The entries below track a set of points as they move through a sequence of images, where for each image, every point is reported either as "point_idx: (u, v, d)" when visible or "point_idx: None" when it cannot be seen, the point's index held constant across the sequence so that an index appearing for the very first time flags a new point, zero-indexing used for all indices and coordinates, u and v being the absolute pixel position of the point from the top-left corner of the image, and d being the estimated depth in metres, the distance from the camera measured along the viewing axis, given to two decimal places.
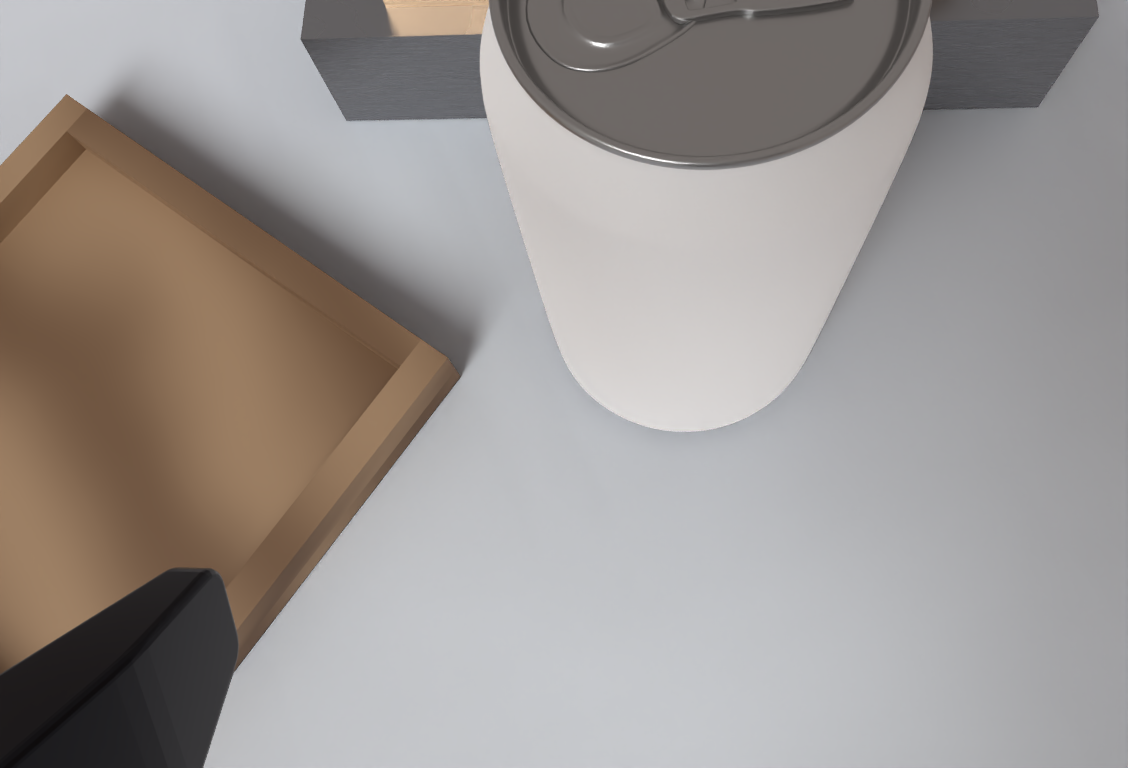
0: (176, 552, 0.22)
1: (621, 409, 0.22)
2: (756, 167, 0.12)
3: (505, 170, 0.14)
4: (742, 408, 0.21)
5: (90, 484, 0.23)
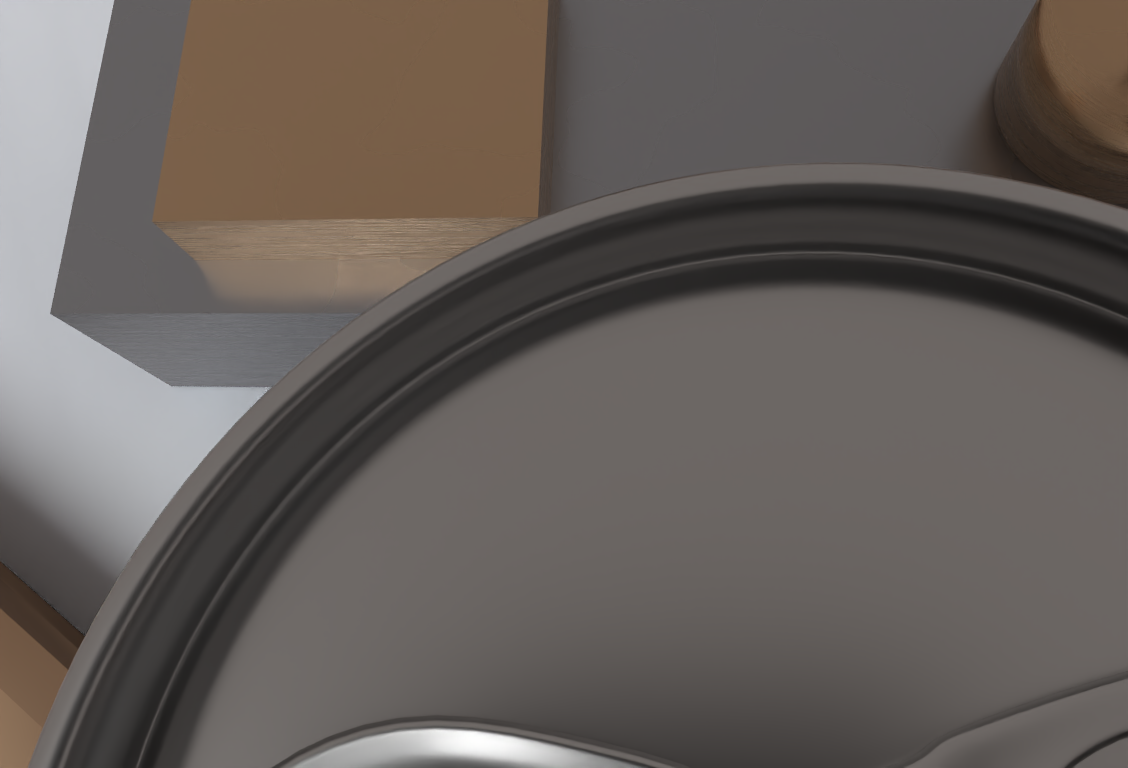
0: None
1: None
2: None
3: None
4: None
5: None
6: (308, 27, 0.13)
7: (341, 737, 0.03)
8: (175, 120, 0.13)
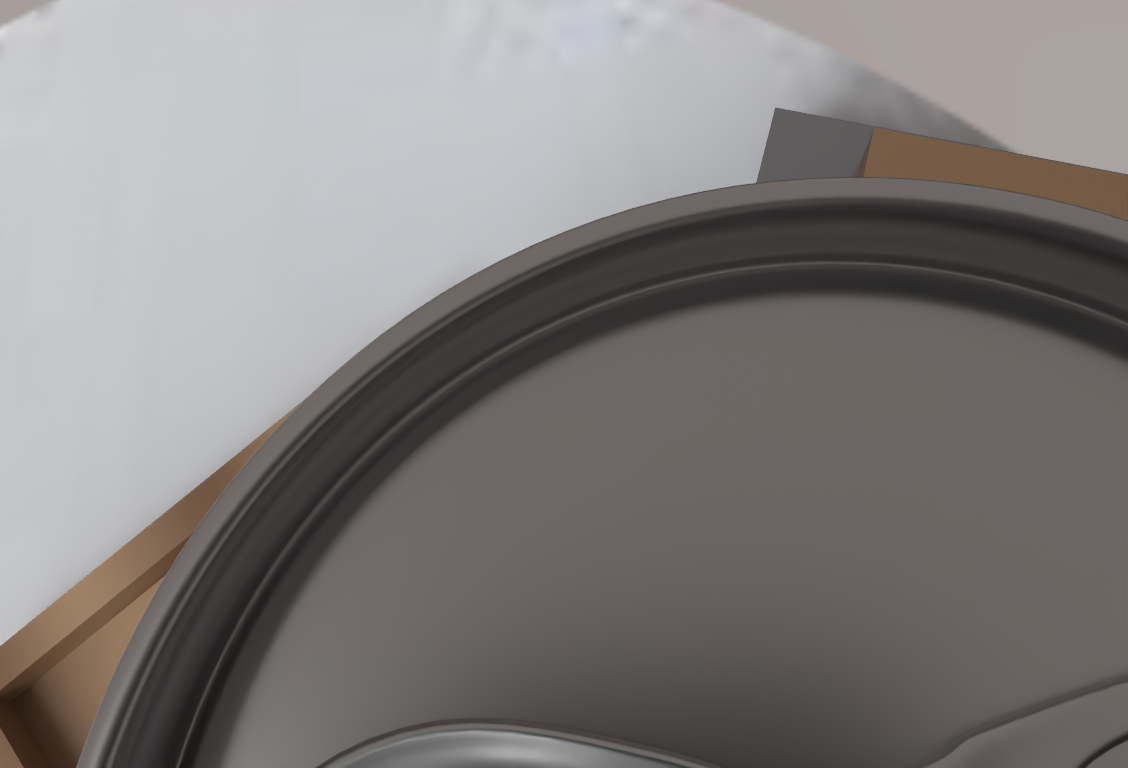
0: None
1: None
2: None
3: None
4: None
5: None
6: None
7: (378, 741, 0.04)
8: None
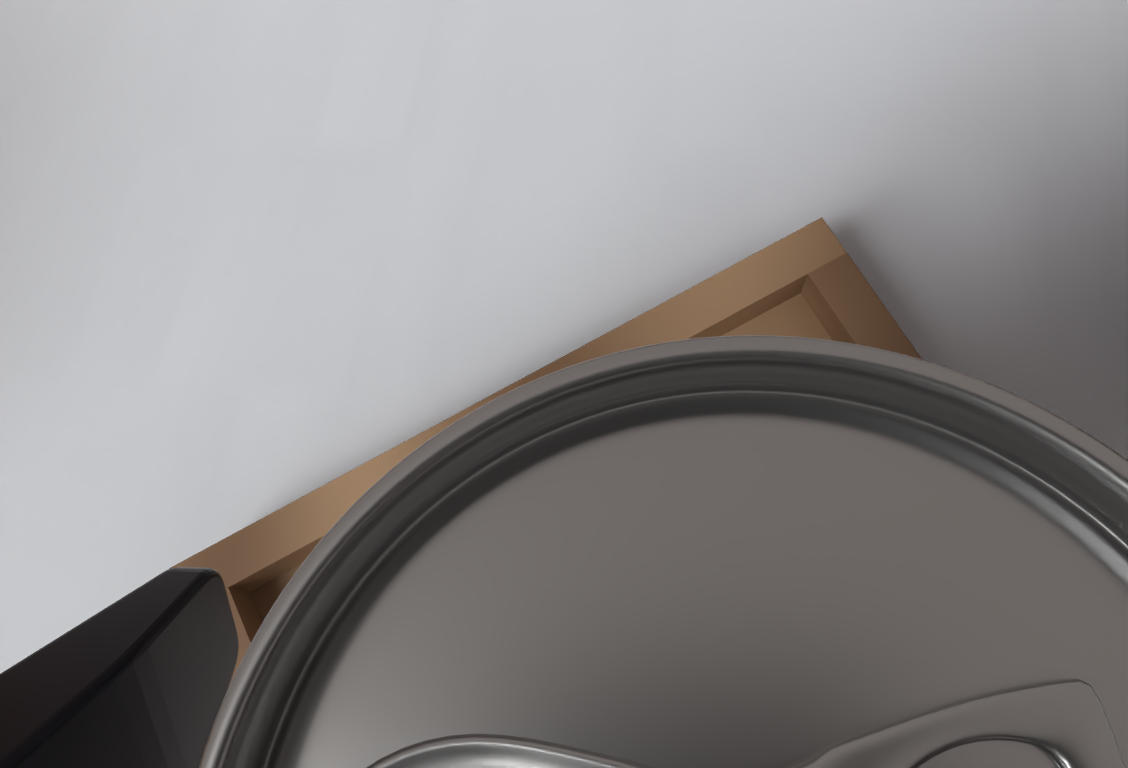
0: None
1: None
2: None
3: None
4: None
5: None
6: None
7: (409, 749, 0.05)
8: None
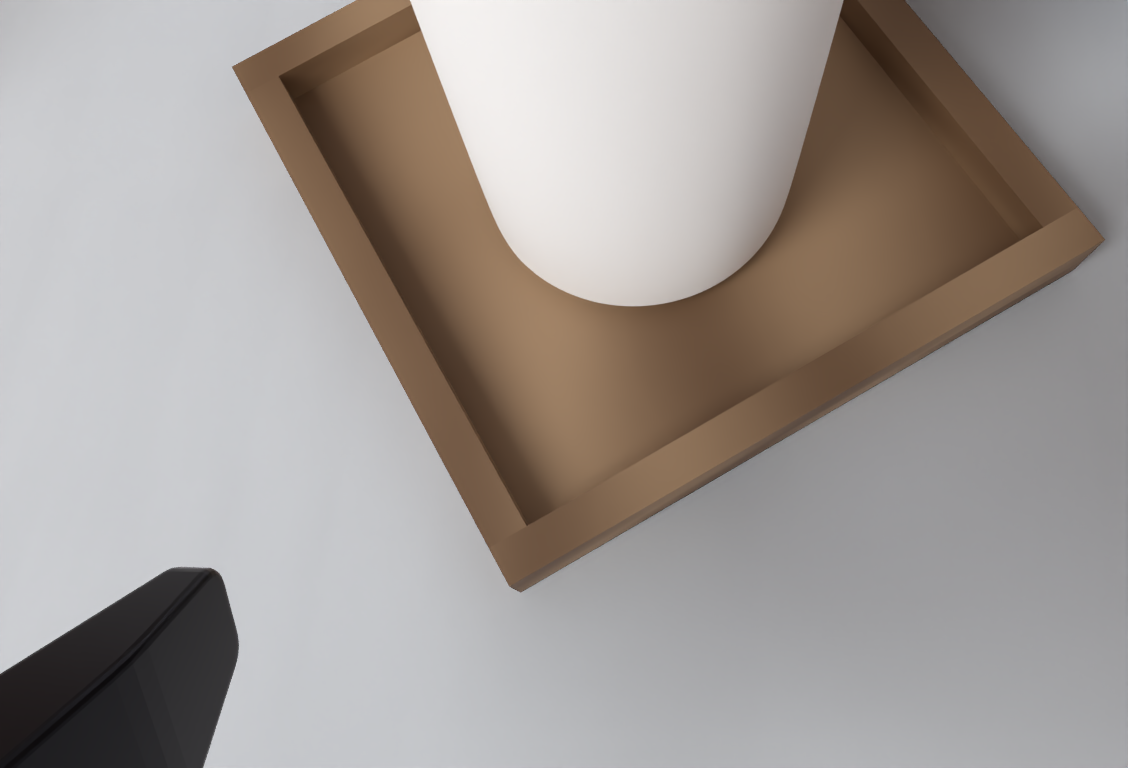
0: (698, 328, 0.19)
1: (564, 278, 0.19)
2: None
3: None
4: (704, 268, 0.18)
5: None
6: None
7: None
8: None
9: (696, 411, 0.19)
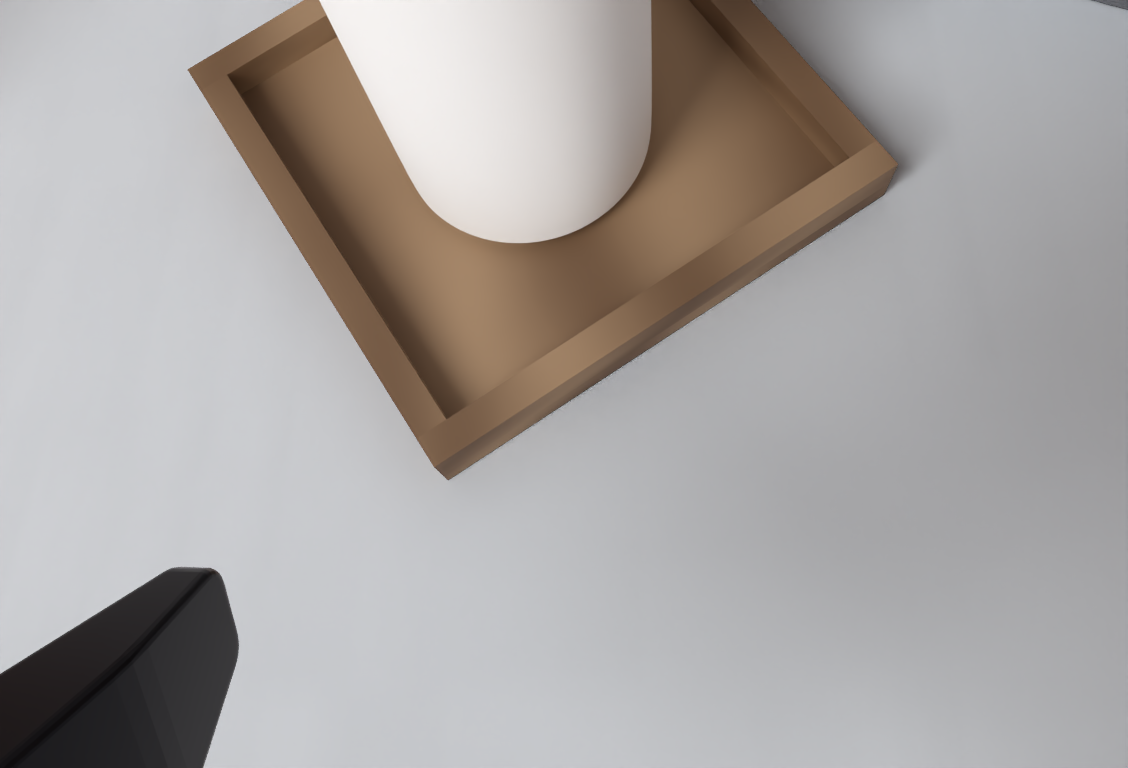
0: (582, 258, 0.24)
1: (468, 221, 0.23)
2: None
3: None
4: (577, 204, 0.22)
5: None
6: None
7: None
8: None
9: (582, 324, 0.23)
